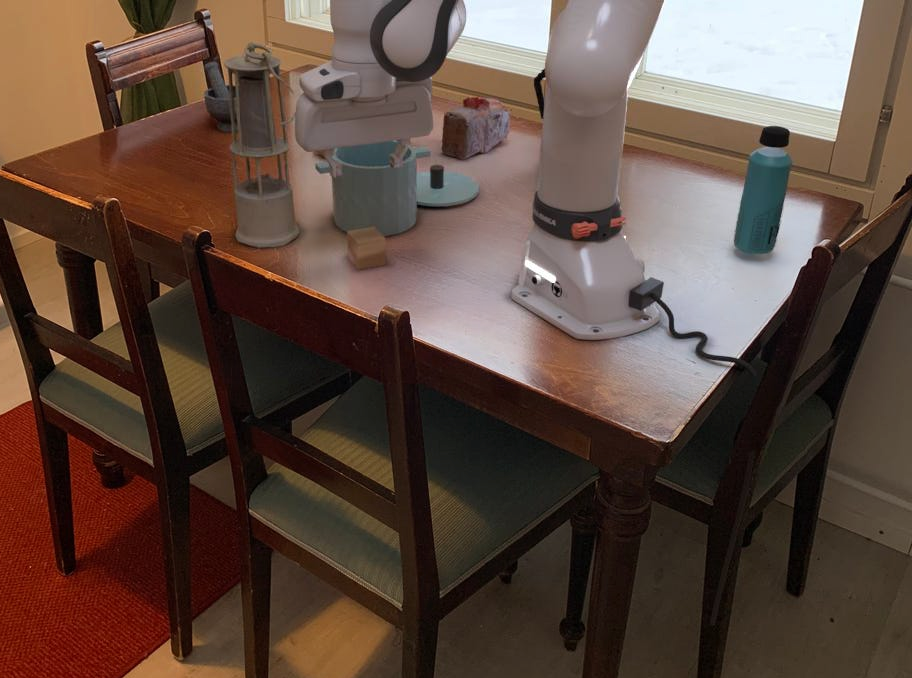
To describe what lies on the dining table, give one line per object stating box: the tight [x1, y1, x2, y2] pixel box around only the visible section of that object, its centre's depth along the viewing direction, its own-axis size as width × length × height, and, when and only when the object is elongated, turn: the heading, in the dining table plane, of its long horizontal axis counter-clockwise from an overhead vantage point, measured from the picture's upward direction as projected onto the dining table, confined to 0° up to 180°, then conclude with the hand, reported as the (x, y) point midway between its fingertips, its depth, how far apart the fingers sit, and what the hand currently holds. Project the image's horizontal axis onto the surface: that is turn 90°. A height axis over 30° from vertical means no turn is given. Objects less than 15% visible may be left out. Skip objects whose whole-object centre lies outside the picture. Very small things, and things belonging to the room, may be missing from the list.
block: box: [346, 227, 387, 271], centre depth 153 cm, size 4×4×4 cm
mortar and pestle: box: [203, 61, 242, 132], centre depth 201 cm, size 11×9×12 cm
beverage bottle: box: [733, 125, 793, 255], centre depth 151 cm, size 6×7×20 cm
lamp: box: [223, 41, 301, 249], centre depth 153 cm, size 10×13×30 cm
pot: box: [314, 140, 432, 237], centre depth 164 cm, size 14×19×12 cm
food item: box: [440, 96, 511, 161], centre depth 192 cm, size 14×8×10 cm, turn 142°
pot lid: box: [417, 164, 480, 207], centre depth 175 cm, size 15×15×5 cm
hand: (366, 171), depth 148 cm, fingers open, 8 cm apart
